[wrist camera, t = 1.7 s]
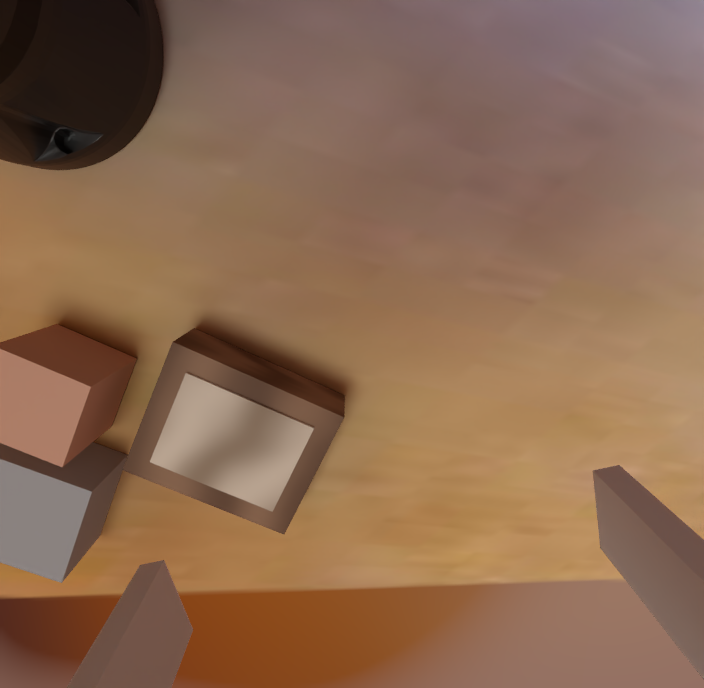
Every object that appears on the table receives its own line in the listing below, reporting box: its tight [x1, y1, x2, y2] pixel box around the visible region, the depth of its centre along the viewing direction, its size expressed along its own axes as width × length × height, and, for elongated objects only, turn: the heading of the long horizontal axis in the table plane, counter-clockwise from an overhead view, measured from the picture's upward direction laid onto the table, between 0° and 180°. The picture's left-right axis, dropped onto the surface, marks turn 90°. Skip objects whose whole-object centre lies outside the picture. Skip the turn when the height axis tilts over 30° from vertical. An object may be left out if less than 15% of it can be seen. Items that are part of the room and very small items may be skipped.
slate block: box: [0, 442, 128, 583], centre depth 33 cm, size 8×8×5 cm
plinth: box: [123, 328, 345, 534], centre depth 32 cm, size 12×10×4 cm
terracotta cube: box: [0, 324, 137, 467], centre depth 30 cm, size 6×6×6 cm
